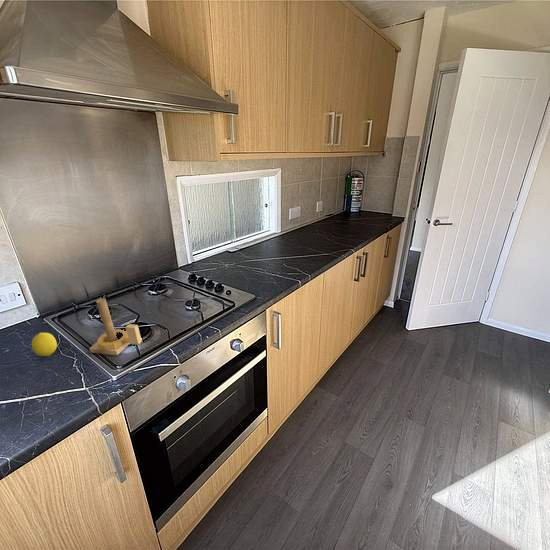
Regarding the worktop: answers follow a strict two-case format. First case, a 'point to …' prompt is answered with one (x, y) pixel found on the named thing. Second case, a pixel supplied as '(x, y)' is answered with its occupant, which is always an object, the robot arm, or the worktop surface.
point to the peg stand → (107, 331)
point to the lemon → (44, 344)
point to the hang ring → (128, 337)
